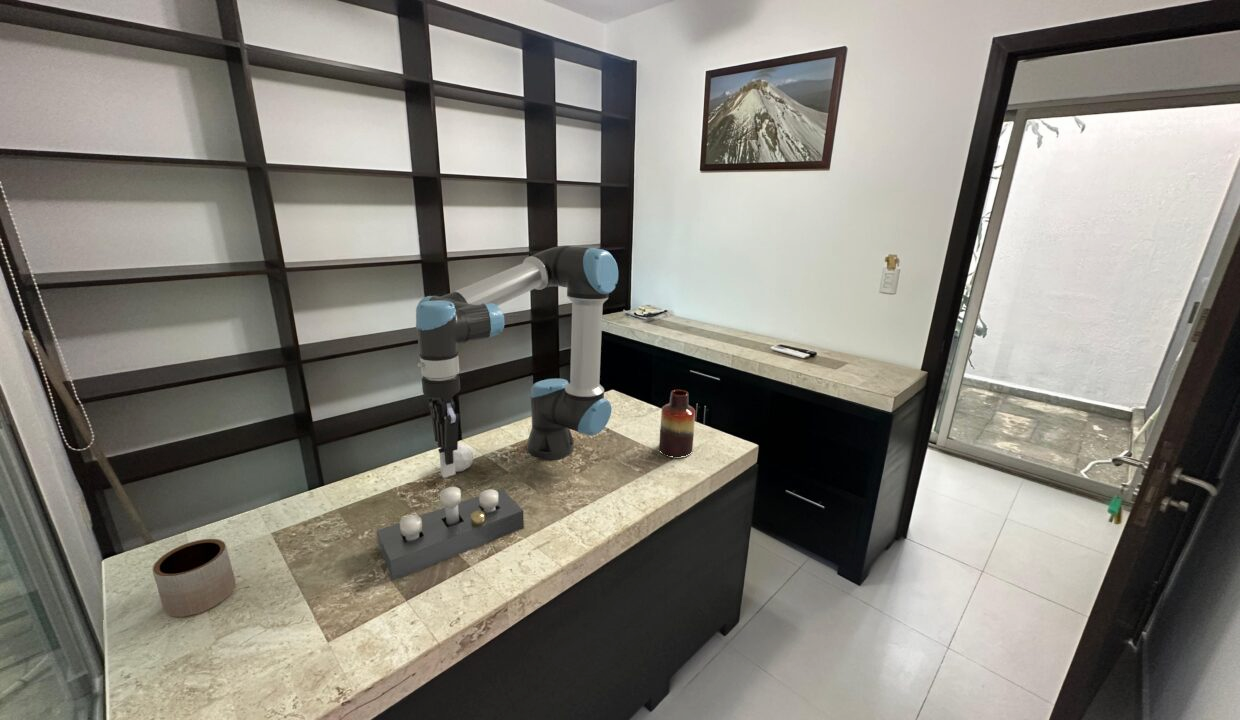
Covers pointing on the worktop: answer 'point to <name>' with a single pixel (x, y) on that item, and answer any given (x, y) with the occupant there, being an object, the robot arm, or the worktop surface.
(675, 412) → the vase
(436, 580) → the worktop surface
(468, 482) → the worktop surface
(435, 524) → the mount
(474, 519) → the brass dial
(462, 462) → the perfume bottle
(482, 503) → the knob
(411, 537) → the knob
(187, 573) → the planter
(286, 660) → the worktop surface
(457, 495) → the knob mid
